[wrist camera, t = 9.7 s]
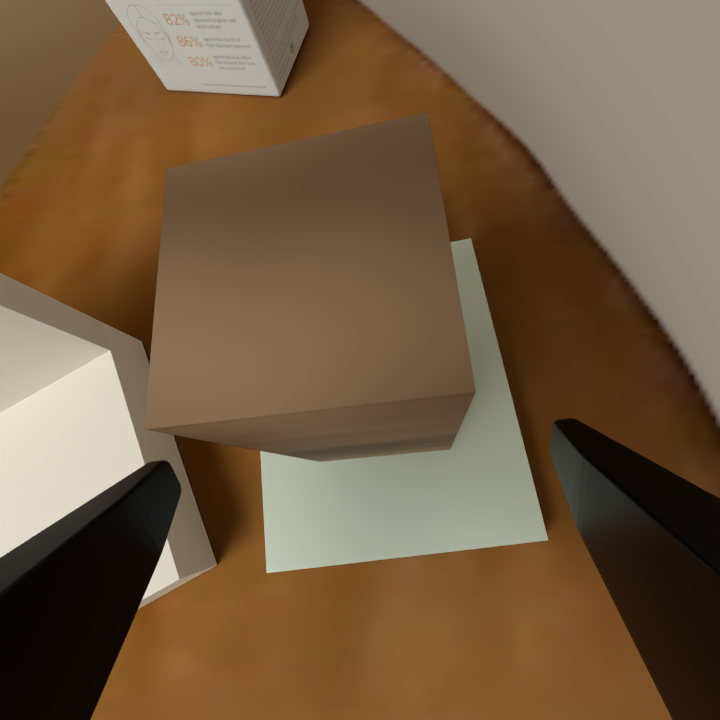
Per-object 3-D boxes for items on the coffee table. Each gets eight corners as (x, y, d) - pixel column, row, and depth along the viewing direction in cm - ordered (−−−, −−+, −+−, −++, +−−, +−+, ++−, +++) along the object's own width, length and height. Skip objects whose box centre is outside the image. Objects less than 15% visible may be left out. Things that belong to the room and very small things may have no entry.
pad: (542, 537, 14) (548, 540, 13) (274, 568, 16) (266, 573, 15) (469, 248, 18) (470, 237, 17) (258, 292, 19) (251, 285, 19)
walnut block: (450, 449, 15) (476, 391, 5) (319, 461, 16) (144, 429, 6) (432, 325, 16) (428, 112, 7) (314, 341, 17) (166, 169, 8)
